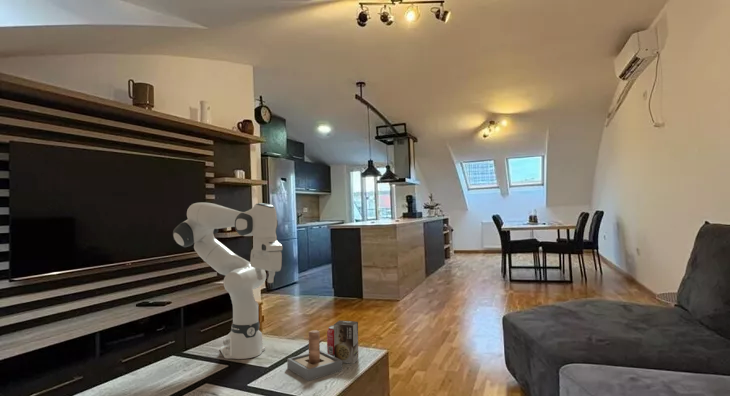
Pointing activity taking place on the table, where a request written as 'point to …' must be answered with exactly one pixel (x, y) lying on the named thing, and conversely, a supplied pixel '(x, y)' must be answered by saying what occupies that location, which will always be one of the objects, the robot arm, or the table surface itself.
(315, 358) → the peg
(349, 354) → the coffee box
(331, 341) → the soda can
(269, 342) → the table surface
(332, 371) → the peg box
